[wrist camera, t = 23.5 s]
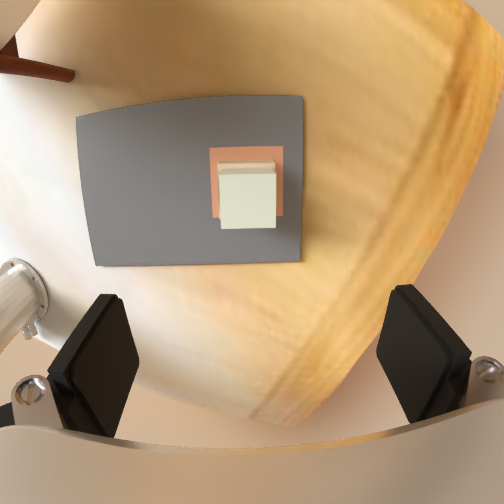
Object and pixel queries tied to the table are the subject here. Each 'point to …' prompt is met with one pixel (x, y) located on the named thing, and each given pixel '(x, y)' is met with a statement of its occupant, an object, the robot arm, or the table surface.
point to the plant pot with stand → (5, 48)
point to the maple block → (242, 164)
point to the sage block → (247, 198)
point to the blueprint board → (187, 179)
